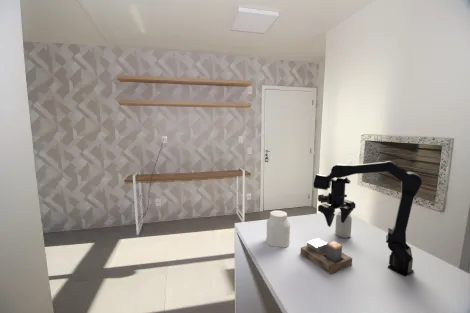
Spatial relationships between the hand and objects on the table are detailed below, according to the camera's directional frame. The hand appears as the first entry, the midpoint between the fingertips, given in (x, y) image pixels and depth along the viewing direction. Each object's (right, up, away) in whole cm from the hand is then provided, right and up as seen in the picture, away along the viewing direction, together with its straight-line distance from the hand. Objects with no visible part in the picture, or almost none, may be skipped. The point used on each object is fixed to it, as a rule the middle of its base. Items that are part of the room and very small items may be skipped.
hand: (335, 224), depth 99 cm
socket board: (-7, -13, -6) cm, 16 cm away
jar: (-25, -12, +8) cm, 29 cm away
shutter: (-9, -10, -3) cm, 14 cm away
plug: (-6, -14, -9) cm, 17 cm away
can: (+11, -11, +16) cm, 23 cm away
